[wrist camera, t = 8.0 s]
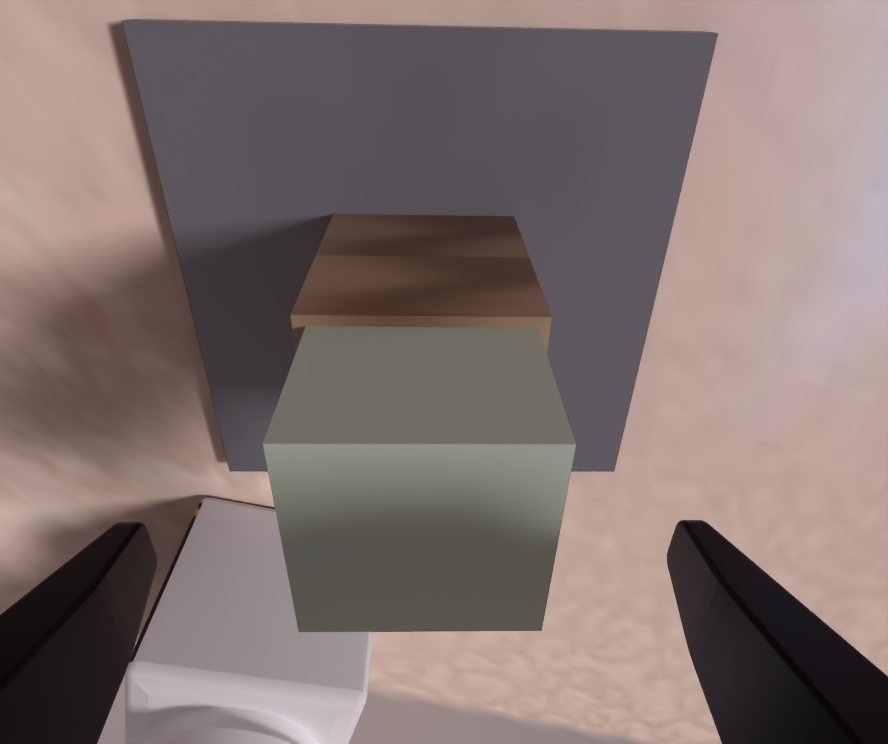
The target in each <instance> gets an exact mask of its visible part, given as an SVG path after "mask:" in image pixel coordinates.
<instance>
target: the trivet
mask: <svg viewBox="0 0 888 744" xmlns="http://www.w3.org/2000/svg"><path fill="white" fill-rule="evenodd" d="M122 23H123V27H124V31H125V35H126V39H127V43H128V48H129V52H130V56H131V60H132V64H133V69H134V73H135V77H136V81H137V85H138V90H139V94H140V98H141V102H142V106H143V110H144V115H145V119H146V123H147V127H148V131H149V136H150V140H151V144H152V148H153V152H154V157H155V161H156V165H157V169H158V173H159V178H160V182H161V186H162V190H163V194H164V198H165V203H166V207H167V211H168V215H169V219H170V224H171V228H172V232H173V236H174V240H175V245H176V249H177V253H178V257H179V261H180V265H181V270H182V274H183V278H184V282H185V286H186V291H187V295H188V299H189V303H190V307H191V312H192V316H193V320H194V324H195V328H196V332H197V337H198V341H199V345H200V349H201V353H202V358H203V362H204V366H205V370H206V374H207V379H208V383H209V387H210V391H211V395H212V399H213V404H214V408H215V412H216V416H217V420H218V425H219V429H220V433H221V437H222V441H223V446H224V450H225V454H226V458H227V462H228V466H229V471H268V469H267V463H266V458H265V453H264V448H263V442H264V439H265V436H266V434H267V431H268V428H269V425H270V423H271V420H272V417H273V414H274V412H275V409H276V406H277V404H278V401H279V398H280V395H281V393H282V390H283V387H284V384H285V382H286V379H287V376H288V373H289V371H290V368H291V365H292V362H293V360H294V357H295V354H296V353H295V345H294V338H293V331H292V324H291V316H290V315H291V312H292V310H293V308H294V305H295V303H296V301H297V298H298V296H299V294H300V291H301V289H302V286H303V284H304V282H305V279H306V277H307V275H308V272H309V270H310V268H311V265H312V263H313V260H314V258H315V256H316V253H317V251H318V249H319V246H320V244H321V242H322V239H323V237H324V235H325V232H326V230H327V227H328V225H329V223H330V220H331V218H332V216H333V214H381V215H460V216H514V217H515V220H516V222H517V225H518V228H519V231H520V233H521V236H522V239H523V241H524V244H525V247H526V249H527V252H528V255H529V257H530V260H531V263H532V265H533V268H534V271H535V273H536V276H537V279H538V281H539V284H540V287H541V289H542V292H543V295H544V297H545V300H546V303H547V305H548V308H549V311H550V313H551V316H552V320H551V327H550V335H549V342H548V350H547V356H548V359H549V362H550V365H551V368H552V371H553V375H554V378H555V381H556V384H557V387H558V390H559V393H560V396H561V399H562V403H563V406H564V409H565V412H566V415H567V418H568V421H569V424H570V427H571V430H572V434H573V437H574V440H575V443H576V447H575V453H574V458H573V464H572V469H571V471H614V470H615V466H616V461H617V457H618V453H619V449H620V445H621V440H622V436H623V432H624V428H625V423H626V419H627V415H628V411H629V407H630V402H631V398H632V394H633V390H634V386H635V381H636V377H637V373H638V369H639V365H640V360H641V356H642V352H643V348H644V343H645V339H646V335H647V331H648V327H649V322H650V318H651V314H652V310H653V306H654V301H655V297H656V293H657V289H658V285H659V280H660V276H661V272H662V268H663V263H664V259H665V255H666V251H667V247H668V242H669V238H670V234H671V230H672V226H673V221H674V217H675V213H676V209H677V205H678V200H679V196H680V192H681V188H682V183H683V179H684V175H685V171H686V167H687V162H688V158H689V154H690V150H691V146H692V141H693V137H694V133H695V129H696V125H697V120H698V116H699V112H700V108H701V103H702V99H703V95H704V91H705V87H706V82H707V78H708V74H709V70H710V66H711V61H712V57H713V53H714V49H715V45H716V40H717V36H718V33H714V32H703V31H657V30H612V29H566V28H521V27H475V26H430V25H384V24H339V23H293V22H248V21H202V20H157V19H128V20H122Z"/></svg>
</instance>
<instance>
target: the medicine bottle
mask: <svg viewBox="0 0 888 744" xmlns="http://www.w3.org/2000/svg"><path fill="white" fill-rule="evenodd" d="M372 633H373V632H298V626H297V621H296V616H295V611H294V605H293V600H292V595H291V590H290V584H289V579H288V574H287V569H286V563H285V558H284V553H283V547H282V542H281V537H280V532H279V526H278V521H277V516H276V511H275V509H271V508H266V507H260V506H255V505H249V504H244V503H238V502H233V501H227V500H222V499H216V498H204V499H202V500H201V502H200V503H199V505H198V507H197V509H196V511H195V514H194V516H193V518H192V520H191V523H190V525H189V527H188V529H187V532H186V534H185V536H184V538H183V541H182V543H181V545H180V547H179V550H178V552H177V554H176V556H175V559H174V561H173V563H172V565H171V568H170V570H169V572H168V574H167V576H166V579H165V581H164V583H163V585H162V588H161V590H160V592H159V594H158V597H157V599H156V601H155V603H154V606H153V608H152V610H151V612H150V615H149V617H148V619H147V621H146V624H145V626H144V628H143V630H142V632H141V635H140V637H139V639H138V641H137V644H136V646H135V648H134V650H133V653H132V656H131V659H130V662H129V664H128V667H127V670H126V672H125V678H126V679H125V685H126V686H125V688H126V689H125V703H126V704H125V709H126V710H125V716H126V717H125V724H126V725H125V728H126V731H125V732H126V733H125V735H126V738H125V739H126V740H125V741H126V742H125V743H126V744H349V741H350V739H351V736H352V734H353V731H354V729H355V726H356V724H357V721H358V719H359V717H360V714H361V712H362V709H363V707H364V704H365V702H366V699H367V690H368V679H369V667H370V656H371V645H372Z"/></svg>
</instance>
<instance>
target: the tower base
mask: <svg viewBox="0 0 888 744" xmlns="http://www.w3.org/2000/svg"><path fill="white" fill-rule="evenodd" d="M316 255H341V256H434V257H528V258H530V257H529V255H528V252H527V249H526V247H525V244H524V241H523V239H522V236H521V233H520V231H519V228H518V225H517V222H516V220H515V217H514V216H460V215H381V214H333V216H332V218H331V220H330V223H329V225H328V227H327V230H326V232H325V235H324V237H323V239H322V242H321V244H320V246H319V249H318V251H317V253H316Z"/></svg>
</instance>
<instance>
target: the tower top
mask: <svg viewBox="0 0 888 744" xmlns="http://www.w3.org/2000/svg"><path fill="white" fill-rule="evenodd" d="M290 316H291V324H292V331H293V338H294V345H295V353H296V351H297V349H298V346H299V343H300V340H301V338H302V335H303V332H304V329H305V327H306V326H364V327H488V328H539V331H540V334H541V337H542V340H543V344H544V347H545V350H546V353H547V350H548V342H549V335H550V327H551V320H552V316H551V313H550V311H549V308H548V305H547V303H546V300H545V297H544V295H543V292H542V289H541V287H540V284H539V281H538V279H537V276H536V273H535V271H534V268H533V265H532V263H531V260H530V258H528V257H434V256H341V255H316V256H315V258H314V260H313V263H312V265H311V268H310V270H309V272H308V275H307V277H306V279H305V282H304V284H303V286H302V289H301V291H300V294H299V296H298V298H297V301H296V303H295V305H294V308H293V310H292V312H291V315H290Z"/></svg>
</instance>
